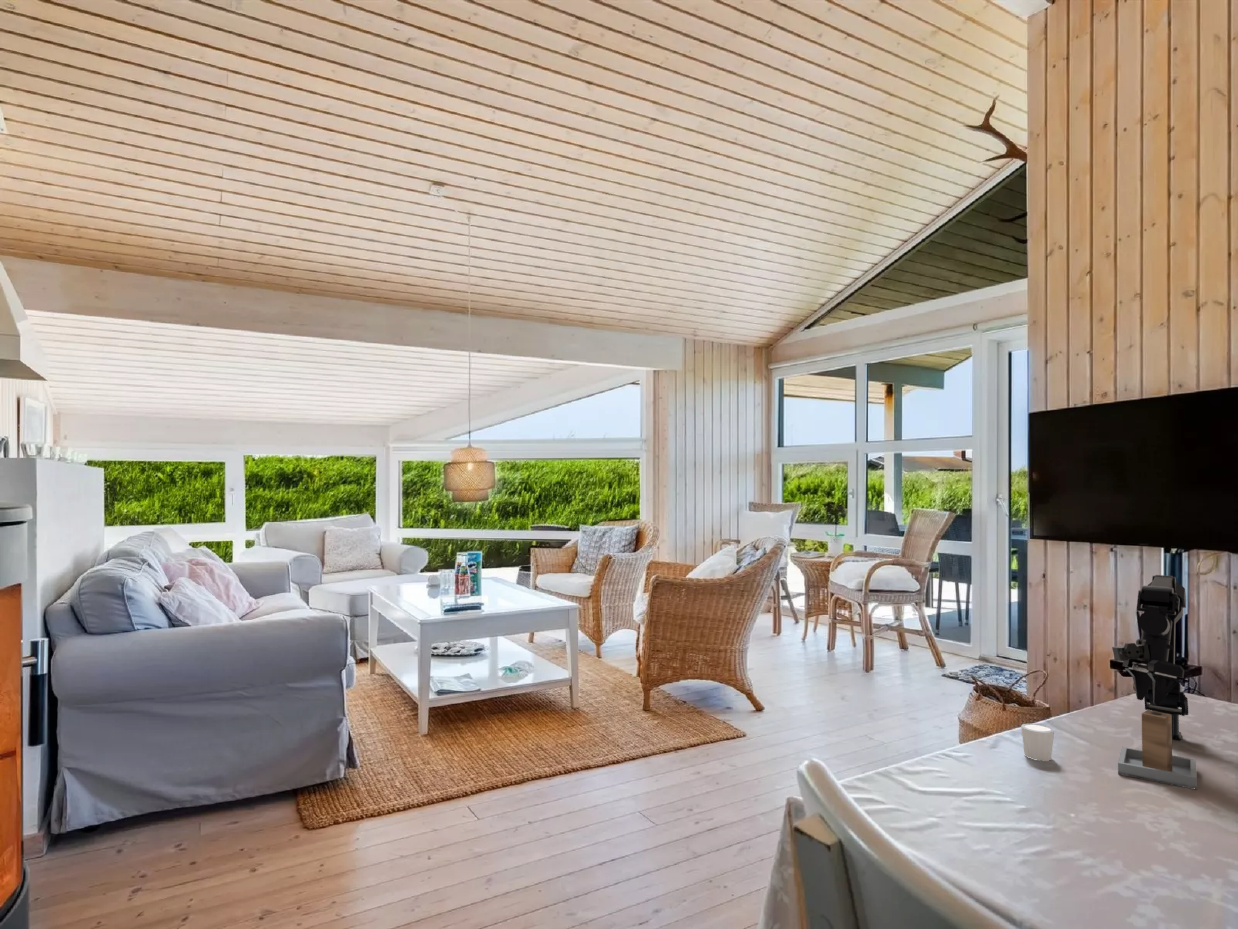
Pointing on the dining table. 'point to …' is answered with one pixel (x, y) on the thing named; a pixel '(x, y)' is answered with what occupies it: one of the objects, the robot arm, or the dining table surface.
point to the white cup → (1037, 741)
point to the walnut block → (1157, 740)
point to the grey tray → (1179, 775)
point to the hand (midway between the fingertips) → (1147, 702)
